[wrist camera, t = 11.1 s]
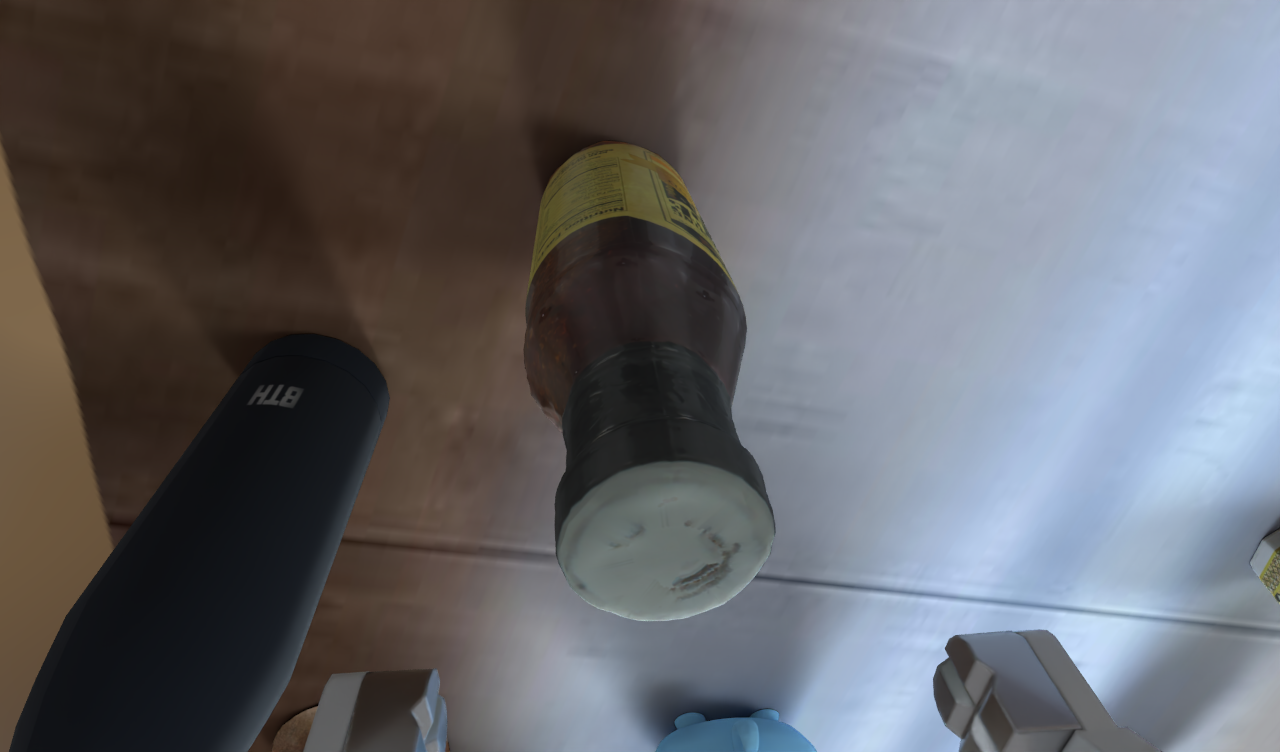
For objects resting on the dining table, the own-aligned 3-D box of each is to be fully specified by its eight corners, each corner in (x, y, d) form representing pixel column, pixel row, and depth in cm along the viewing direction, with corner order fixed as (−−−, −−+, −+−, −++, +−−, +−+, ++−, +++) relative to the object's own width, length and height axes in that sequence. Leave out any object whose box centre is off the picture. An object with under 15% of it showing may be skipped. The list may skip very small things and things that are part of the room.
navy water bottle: (312, 461, 35) (-318, 1797, 10) (215, 369, 32) (-1095, 2038, 7) (417, 410, 34) (1, 1774, 9) (329, 309, 30) (-739, 2048, 6)
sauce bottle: (692, 262, 31) (840, 651, 14) (555, 285, 31) (544, 701, 14) (677, 111, 27) (850, 399, 11) (521, 137, 27) (455, 465, 11)
